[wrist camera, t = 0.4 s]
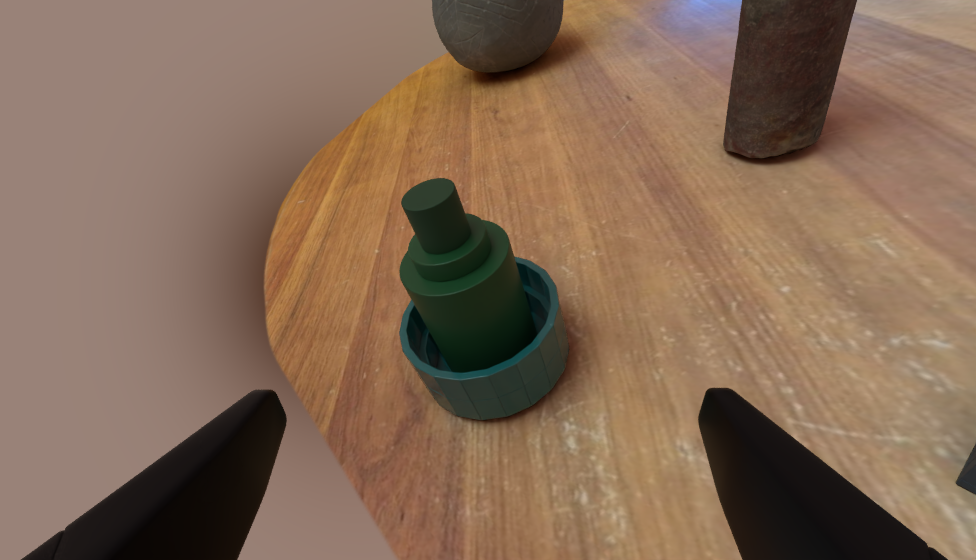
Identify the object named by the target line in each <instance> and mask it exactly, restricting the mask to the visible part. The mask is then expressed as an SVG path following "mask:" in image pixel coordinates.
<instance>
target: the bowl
mask: <svg viewBox="0 0 976 560" xmlns="http://www.w3.org/2000/svg"><path fill="white" fill-rule="evenodd" d="M432 10H433V18H434V22H435V26H436V29H437V32H438V34H439V37H440V39H441V41H442V43H443V44H444V46H445V47H446V49H447V50H448V51H449V53H450V54H451V55H452V56H453V57H454V59H455V60H456V61H457V62H458V63H459V64H461V65H463V66H464V67H466V68H468V69H471V70H474V71H479V72H501V71H508V70H512V69H516V68H519V67H522V66H525V65H527V64H529V63H531V62H533V61H534V60H536V59H538V58H539V57H540V56H541V55H542V54H543V53H544V52H545V51H546V50H547V49H548V48H549V47H550V45H551V44H552V43H553V41H554V40H555V38H556V36H557V34H558V31H559V29H560V25H561V21H562V15H563V0H432Z"/></svg>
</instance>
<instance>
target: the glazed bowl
mask: <svg viewBox="0 0 976 560" xmlns="http://www.w3.org/2000/svg"><path fill="white" fill-rule="evenodd" d="M514 258H515V261H516V264H517V268H518V271H519V274H520V278H521V281H522V284H523V288H524V291H525V294H526V298H527V301H528V304H529V308H530V311H531V314H532V318H533V321H534V324H535V328H536V331H537V334H538V335H537V336H536V338H535V339H534V340H533V342H532V343H531V344H529V345H528V346H527V347H525V348H524V349H523V350H522V351H520V352H519V353H518V354H517V355H515V356H514V357H513V358H511V359H509V360H506V361H504V362H502V363H499V364H497V365H495V366H493V367H490V368H488V369H483V370H477V371H471V372H464V373H458V372H452V371H451V369H450V368H449V366H448V364H447V362H446V360H445V359H444V357H443V355H442V353H441V351H440V350H439V348H438V346H437V344H436V342H435V341H434V339H433V337H432V335H431V333H430V332H429V330H428V328H427V326H426V324H425V323H424V321H423V319H422V317H421V315H420V314H419V312H418V310H417V308H416V307H415V305H414V303H413V301H412V300H411V301H410V303H409V305H408V307H407V308H406V310H405V312H404V314H403V317H402V322H401V327H400V331H399V335H400V340H401V345H402V350H403V352H404V354H405V356H406V357H407V359H408V360H409V362H410V363H411V365H412V366H413V368H414V369H415V371H416V372H417V374H418V376H419V377H420V379H421V380H422V382H423V383H424V385H425V386H426V388H427V389H428V391H429V392H430V393H431V395H432V396H433V397H434V399H435V400H436V401H437V403H438V404H439V405H440V406H441V407H443V408H445V409H446V410H448V411H450V412H452V413H453V414H455V415H457V416H460V417H466V418H471V419H477V420H486V419H494V418H501V417H507V416H510V415H513V414H515V413H517V412H519V411H522V410H524V409H526V408H528V407H531V405H534V404H535V403H536V402H537V401H539V400H540V399H541V398H542V397H543V396H544V395H546V394H547V393H548V392H549V391H550V390H551V389H552V388H553V387H554V385H555V384H556V382H557V381H558V379H559V377H560V376H561V374H562V373H563V371H564V369H565V365H566V361H567V357H568V352H569V343H568V337H567V331H566V327H565V322H564V318H563V314H562V309H561V305H560V300H559V296H558V292H557V287H556V285H555V283H554V282H553V280H552V279H551V278H550V276H549V275H548V273H547V272H546V271H545V270H544V269H542V268H541V267H539V266H538V265H536V264H534V263H533V262H531V261H529V260H526V259H522V258H518V257H514Z"/></svg>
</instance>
